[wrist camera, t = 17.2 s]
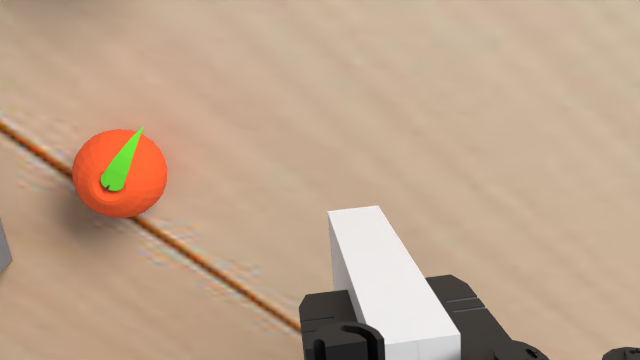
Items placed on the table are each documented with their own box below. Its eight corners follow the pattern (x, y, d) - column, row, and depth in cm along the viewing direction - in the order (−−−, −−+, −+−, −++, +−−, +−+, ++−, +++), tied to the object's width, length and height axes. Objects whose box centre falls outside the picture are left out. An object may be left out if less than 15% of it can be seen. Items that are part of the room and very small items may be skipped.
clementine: (115, 95, 41) (86, 108, 35) (193, 135, 43) (180, 155, 36) (76, 178, 43) (40, 206, 36) (153, 214, 45) (133, 247, 38)
